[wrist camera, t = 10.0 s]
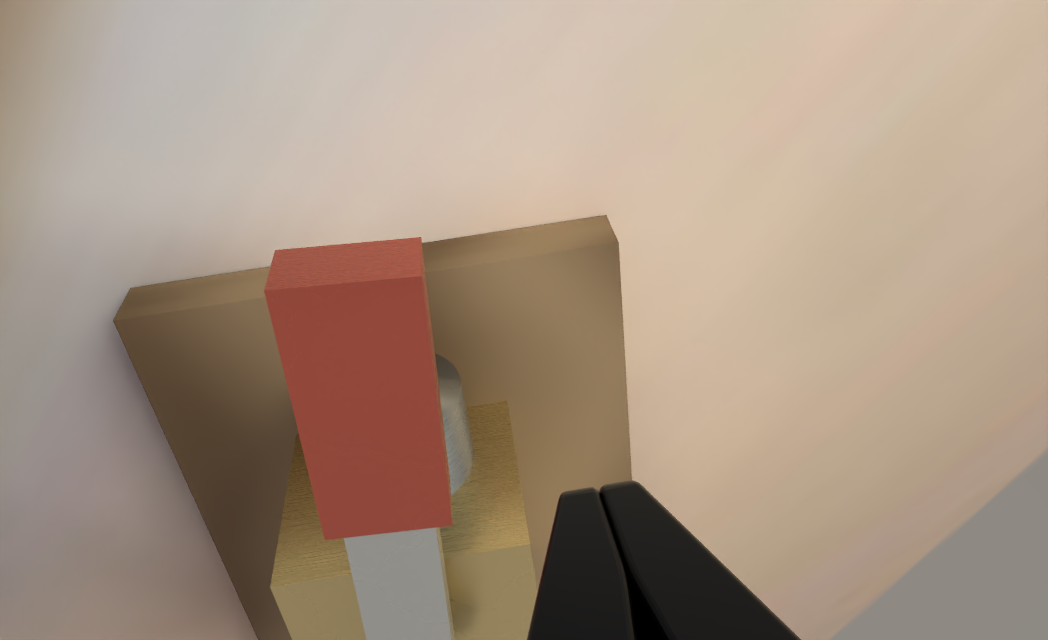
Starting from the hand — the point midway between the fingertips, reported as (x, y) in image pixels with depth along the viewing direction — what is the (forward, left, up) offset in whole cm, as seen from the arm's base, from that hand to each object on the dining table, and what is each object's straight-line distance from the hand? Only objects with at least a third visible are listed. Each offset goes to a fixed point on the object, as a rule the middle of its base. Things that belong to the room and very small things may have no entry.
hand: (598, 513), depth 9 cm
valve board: (-4, -10, -13) cm, 16 cm away
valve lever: (-3, -5, -5) cm, 8 cm away
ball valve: (-4, -10, -11) cm, 15 cm away
